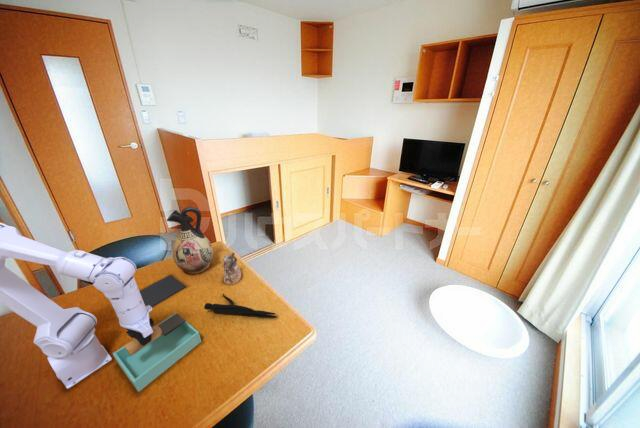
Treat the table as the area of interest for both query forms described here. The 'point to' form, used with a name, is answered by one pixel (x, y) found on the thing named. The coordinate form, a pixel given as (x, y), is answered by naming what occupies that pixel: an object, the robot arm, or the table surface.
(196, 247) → the ceramic jug
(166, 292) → the tray
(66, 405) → the table surface
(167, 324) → the spatula
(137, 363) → the bin
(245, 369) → the table surface
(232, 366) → the table surface
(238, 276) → the figurine
